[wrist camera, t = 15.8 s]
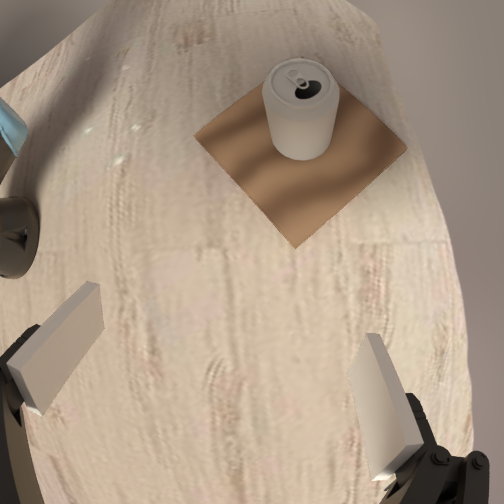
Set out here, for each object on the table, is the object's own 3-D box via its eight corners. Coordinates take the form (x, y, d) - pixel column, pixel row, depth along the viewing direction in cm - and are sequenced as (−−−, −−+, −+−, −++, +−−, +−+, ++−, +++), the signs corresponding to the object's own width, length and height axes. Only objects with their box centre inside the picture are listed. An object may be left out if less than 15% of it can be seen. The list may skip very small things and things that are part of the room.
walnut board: (196, 139, 39) (193, 135, 38) (302, 61, 38) (302, 56, 37) (295, 249, 36) (295, 248, 34) (404, 151, 35) (407, 147, 33)
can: (298, 175, 35) (297, 126, 23) (259, 134, 36) (243, 77, 25) (342, 140, 35) (358, 85, 23) (303, 102, 36) (302, 42, 24)
